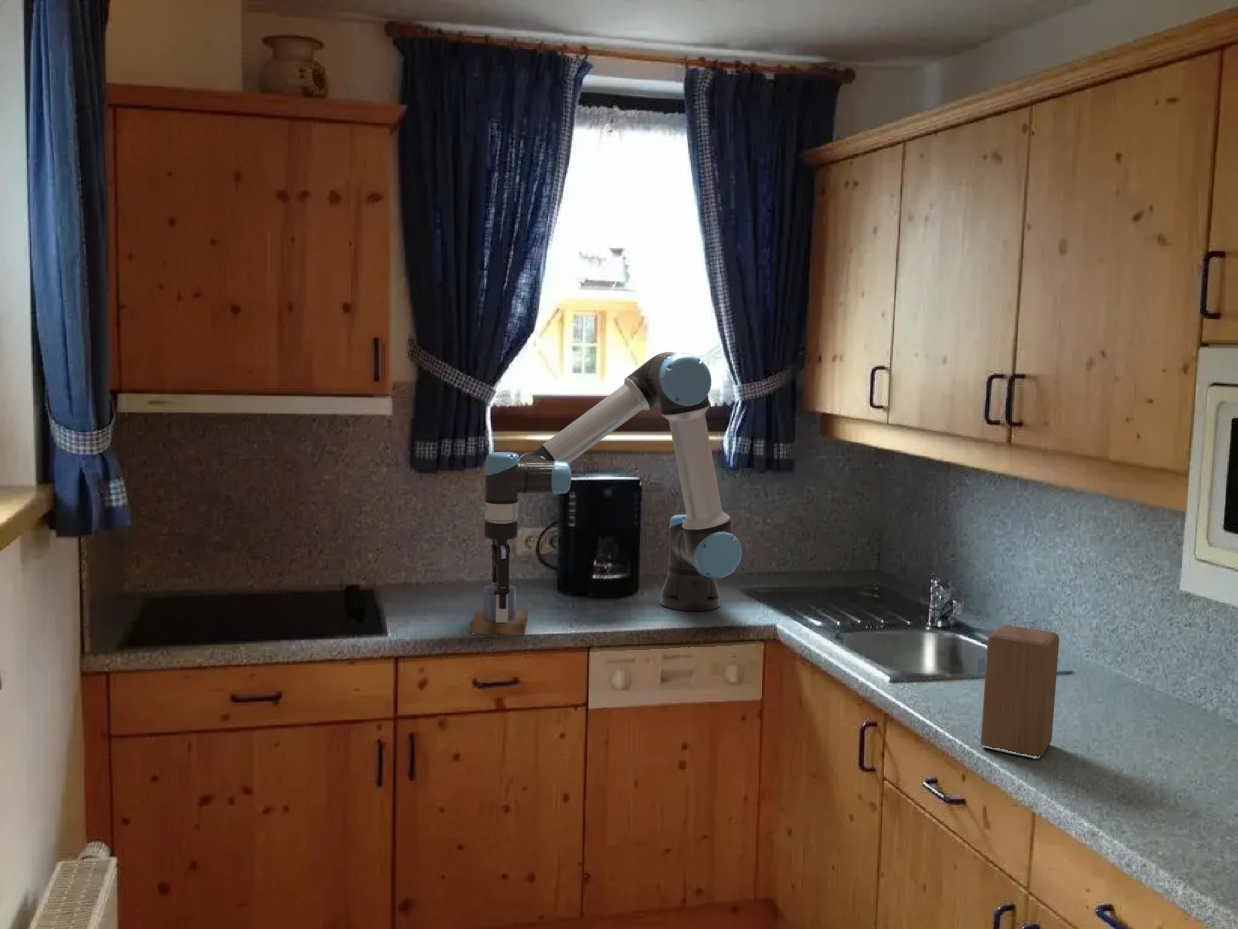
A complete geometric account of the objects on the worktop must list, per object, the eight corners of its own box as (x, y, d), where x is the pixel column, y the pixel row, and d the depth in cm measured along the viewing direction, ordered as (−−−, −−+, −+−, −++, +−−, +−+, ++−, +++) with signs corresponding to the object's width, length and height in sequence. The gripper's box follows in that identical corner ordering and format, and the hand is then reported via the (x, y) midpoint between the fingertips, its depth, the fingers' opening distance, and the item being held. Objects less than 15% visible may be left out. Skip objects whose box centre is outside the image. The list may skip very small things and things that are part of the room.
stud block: (527, 621, 269) (527, 590, 268) (524, 635, 257) (524, 602, 256) (476, 620, 269) (476, 589, 268) (470, 634, 257) (471, 601, 256)
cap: (517, 614, 266) (518, 584, 265) (512, 622, 259) (512, 591, 258) (487, 612, 267) (487, 583, 266) (481, 620, 259) (481, 590, 259)
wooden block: (978, 749, 194) (986, 635, 192) (993, 732, 203) (1000, 622, 200) (1040, 762, 189) (1048, 645, 187) (1052, 744, 197) (1060, 631, 195)
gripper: (480, 512, 270) (479, 604, 273) (488, 529, 248) (487, 629, 251) (512, 512, 272) (511, 603, 274) (523, 529, 250) (521, 628, 253)
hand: (499, 616), depth 263 cm, fingers closed on stud block, 10 cm apart
